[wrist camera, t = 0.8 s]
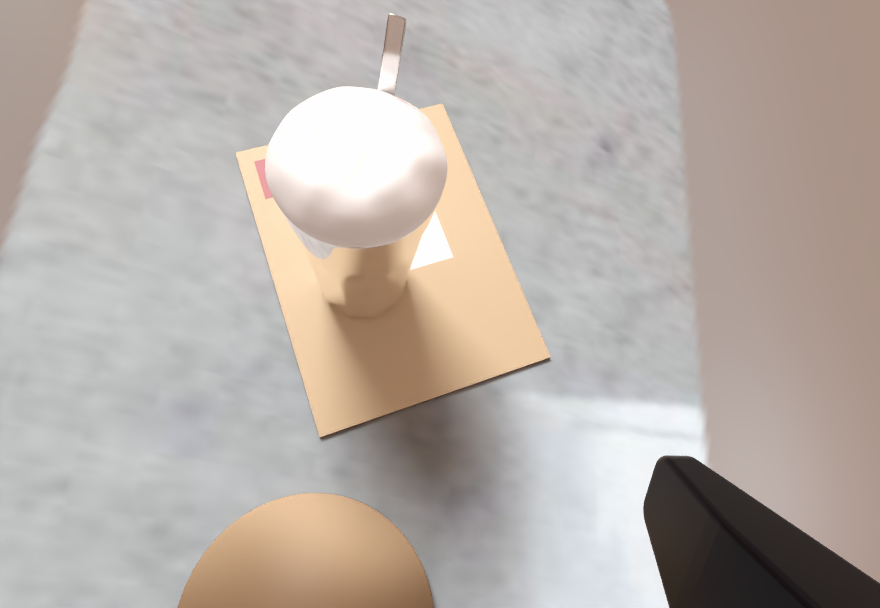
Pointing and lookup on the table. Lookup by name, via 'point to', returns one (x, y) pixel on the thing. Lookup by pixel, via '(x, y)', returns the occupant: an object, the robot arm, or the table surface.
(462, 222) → the envelope
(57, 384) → the table surface
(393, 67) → the milkshake
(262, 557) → the coaster
